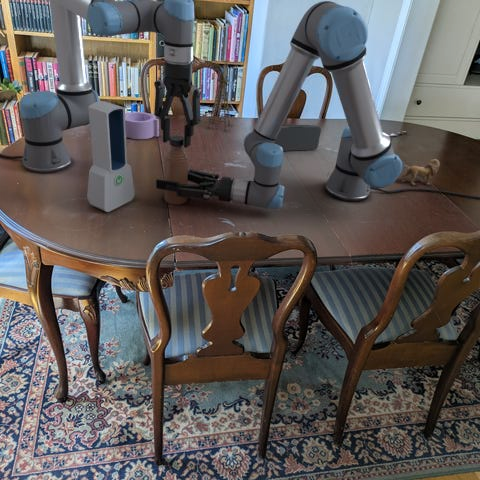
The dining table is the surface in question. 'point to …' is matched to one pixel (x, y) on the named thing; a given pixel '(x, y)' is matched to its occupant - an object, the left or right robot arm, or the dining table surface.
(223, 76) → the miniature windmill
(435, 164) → the lion figurine
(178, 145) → the cap
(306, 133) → the handheld gaming console
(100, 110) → the electronic device
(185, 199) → the bottle
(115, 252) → the dining table surface
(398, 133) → the sword
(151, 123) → the clip
